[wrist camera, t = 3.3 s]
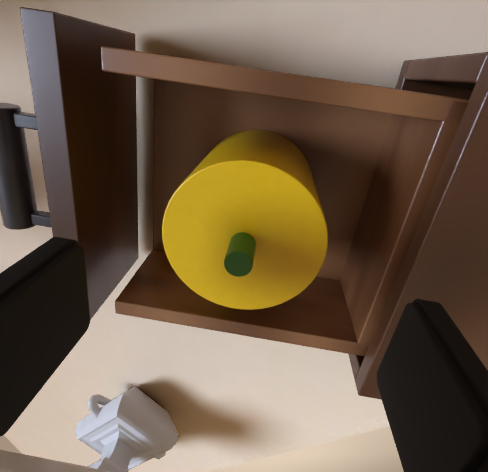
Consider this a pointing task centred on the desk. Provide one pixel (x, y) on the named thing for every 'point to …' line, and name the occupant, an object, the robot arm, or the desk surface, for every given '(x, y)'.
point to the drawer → (191, 155)
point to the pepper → (247, 223)
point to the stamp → (126, 430)
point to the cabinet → (445, 220)
